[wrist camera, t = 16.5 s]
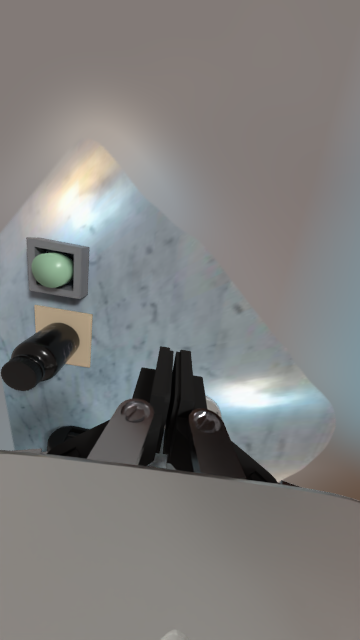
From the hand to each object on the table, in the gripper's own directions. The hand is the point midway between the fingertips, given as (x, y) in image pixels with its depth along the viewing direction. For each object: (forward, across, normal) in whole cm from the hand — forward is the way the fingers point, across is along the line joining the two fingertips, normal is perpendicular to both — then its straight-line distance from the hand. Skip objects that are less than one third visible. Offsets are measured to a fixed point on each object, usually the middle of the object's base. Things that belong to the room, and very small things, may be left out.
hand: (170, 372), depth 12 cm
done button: (+26, +19, +1) cm, 32 cm away
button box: (+27, +19, +1) cm, 33 cm away
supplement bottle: (+27, +19, +14) cm, 36 cm away
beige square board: (+27, +19, +14) cm, 36 cm away
